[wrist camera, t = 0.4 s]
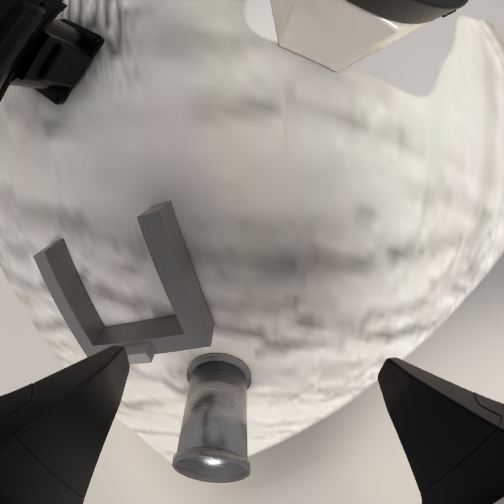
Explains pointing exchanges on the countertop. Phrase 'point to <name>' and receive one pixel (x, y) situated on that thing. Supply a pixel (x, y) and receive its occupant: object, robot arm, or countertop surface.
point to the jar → (350, 26)
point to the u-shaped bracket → (144, 332)
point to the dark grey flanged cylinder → (215, 420)
